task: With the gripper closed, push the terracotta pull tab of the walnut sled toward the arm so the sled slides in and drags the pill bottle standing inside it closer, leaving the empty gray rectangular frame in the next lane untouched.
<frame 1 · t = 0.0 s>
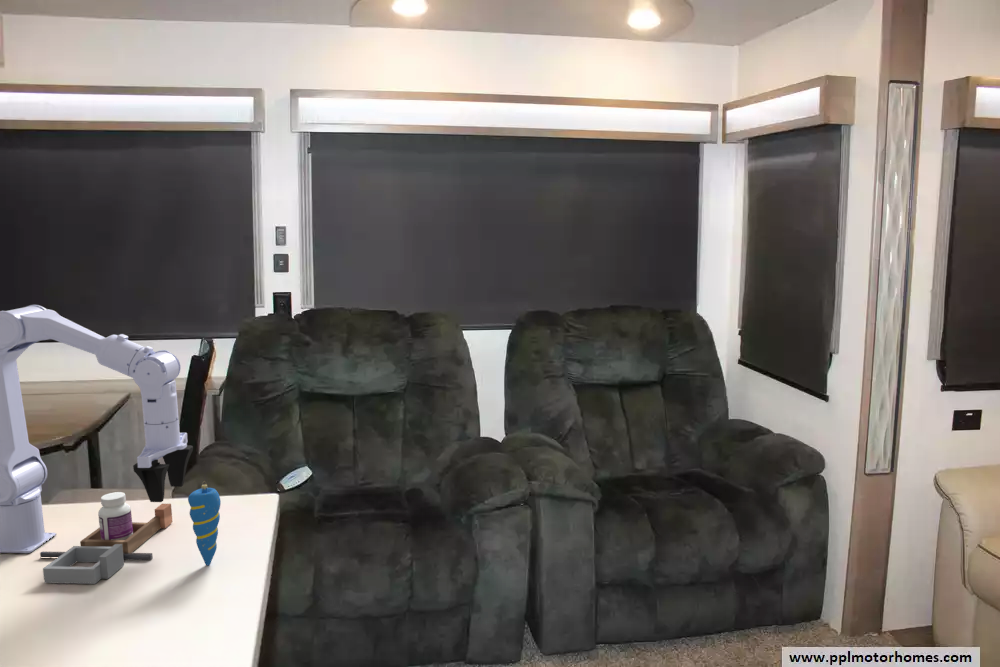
hand: (167, 493, 141), 10 cm above the table, tool pointing down, fingers open, 7 cm apart
gray rectangular frame: (87, 560, 132), point 2 cm above the table, slide at 0.0 cm
pill bottle: (118, 546, 143), resting in walnut sled
walnut sled: (128, 528, 146), point 2 cm above the table, slide at 0.0 cm
ornament: (209, 565, 135), on the table
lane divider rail: (96, 558, 138), on the table
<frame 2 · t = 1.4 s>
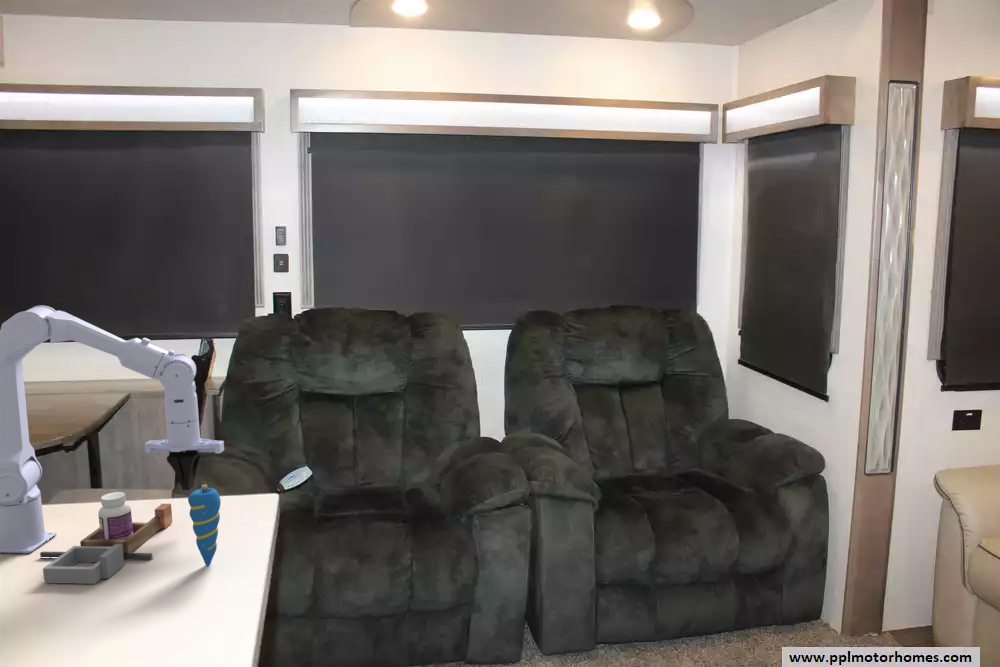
hand: (188, 488, 150), 8 cm above the table, tool pointing down, fingers closed
nothing on the table moved.
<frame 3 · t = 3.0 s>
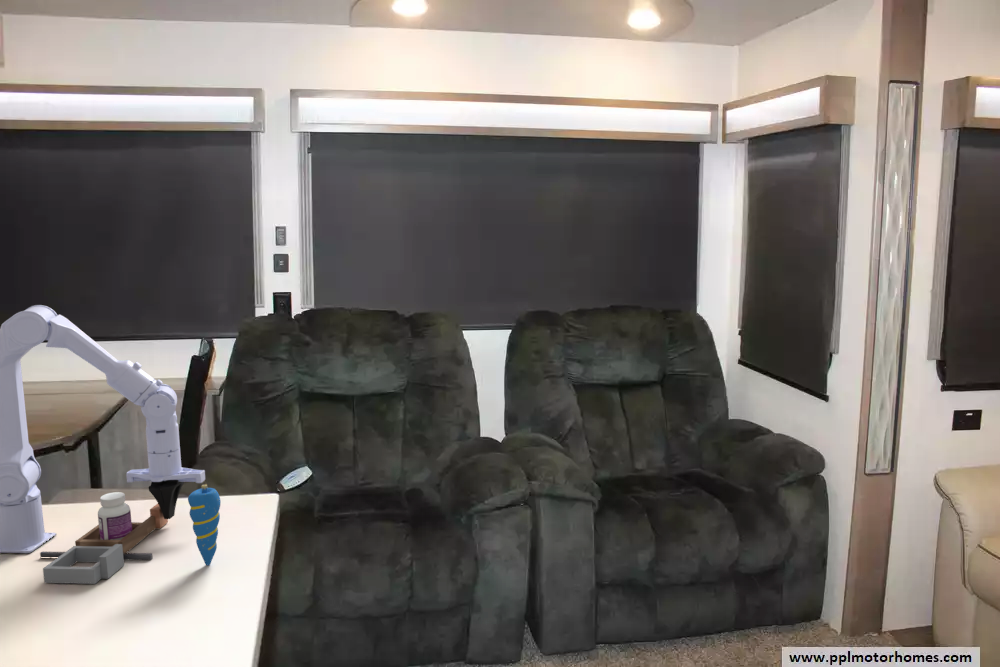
hand: (169, 517, 151), 2 cm above the table, tool pointing down, fingers closed
pill bottle: (117, 546, 143), resting in walnut sled
walnut sled: (123, 527, 146), point 2 cm above the table, slide at 0.9 cm, touching gripper, pill bottle
everything else where it was.
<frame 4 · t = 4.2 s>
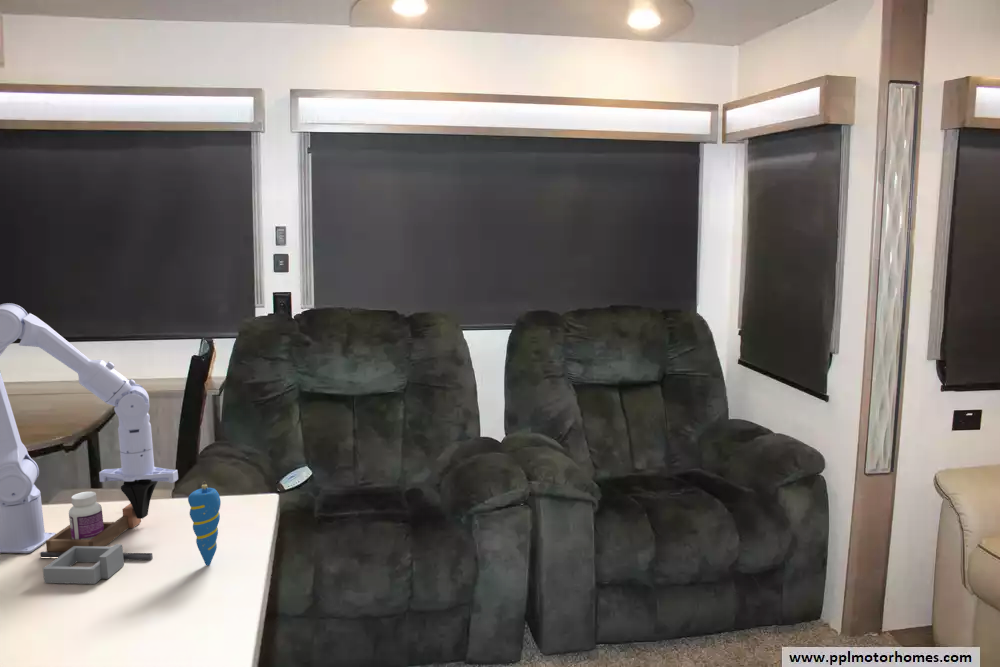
hand: (142, 516, 152), 2 cm above the table, tool pointing down, fingers closed
pill bottle: (89, 546, 143), resting in walnut sled
walnut sled: (95, 527, 146), point 2 cm above the table, slide at 6.3 cm, touching gripper, pill bottle
everything else where it was.
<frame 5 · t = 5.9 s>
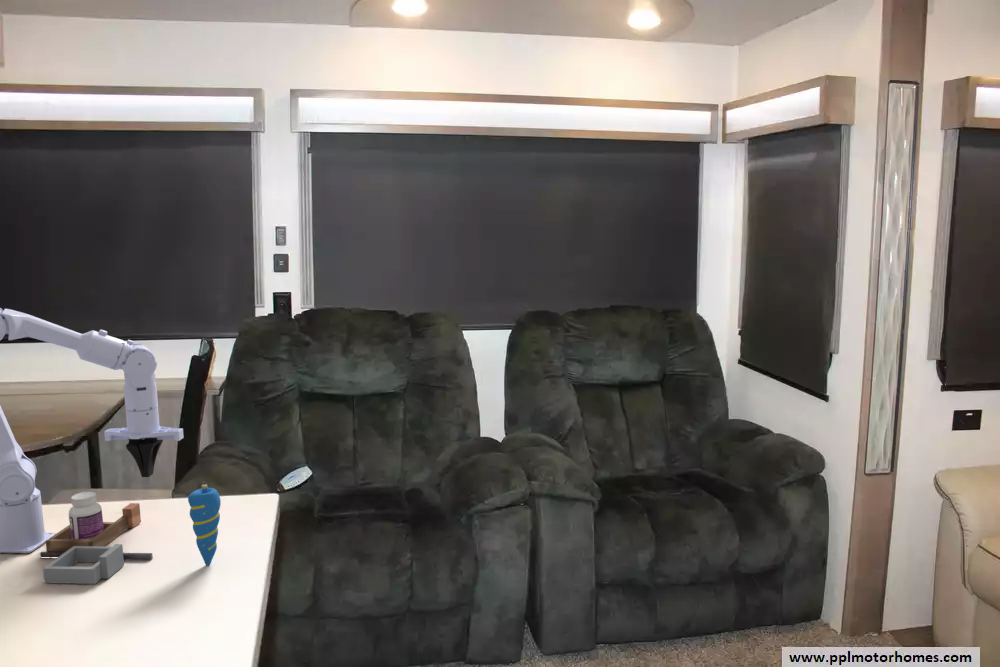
hand: (147, 475, 153), 9 cm above the table, tool pointing down, fingers closed
pill bottle: (88, 546, 143), resting in walnut sled
walnut sled: (95, 527, 146), point 2 cm above the table, slide at 6.3 cm
everything else where it was.
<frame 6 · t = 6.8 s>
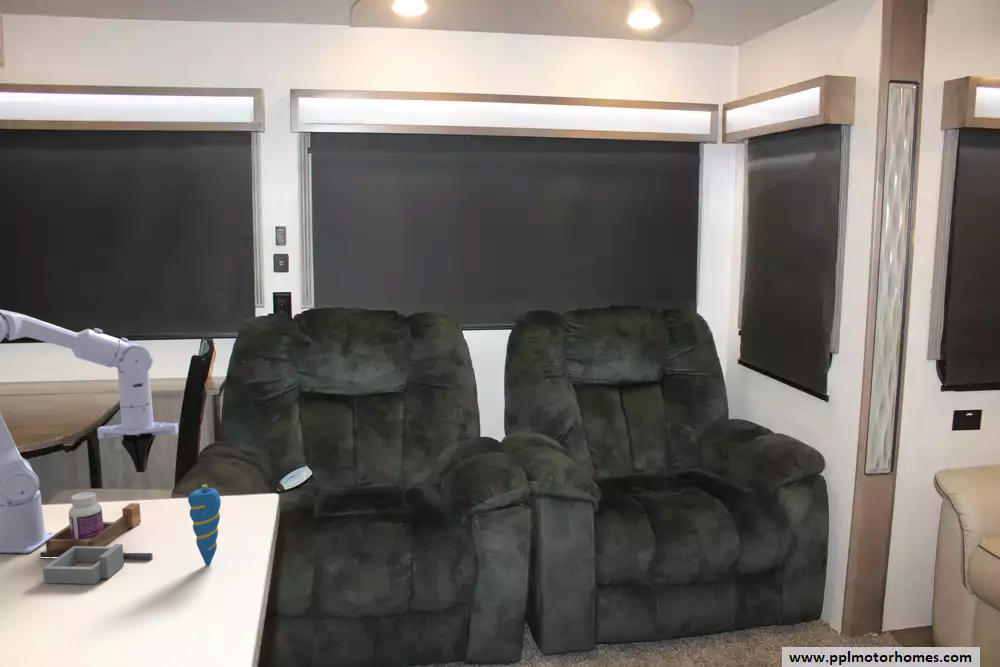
hand: (141, 470, 155), 9 cm above the table, tool pointing down, fingers closed
nothing on the table moved.
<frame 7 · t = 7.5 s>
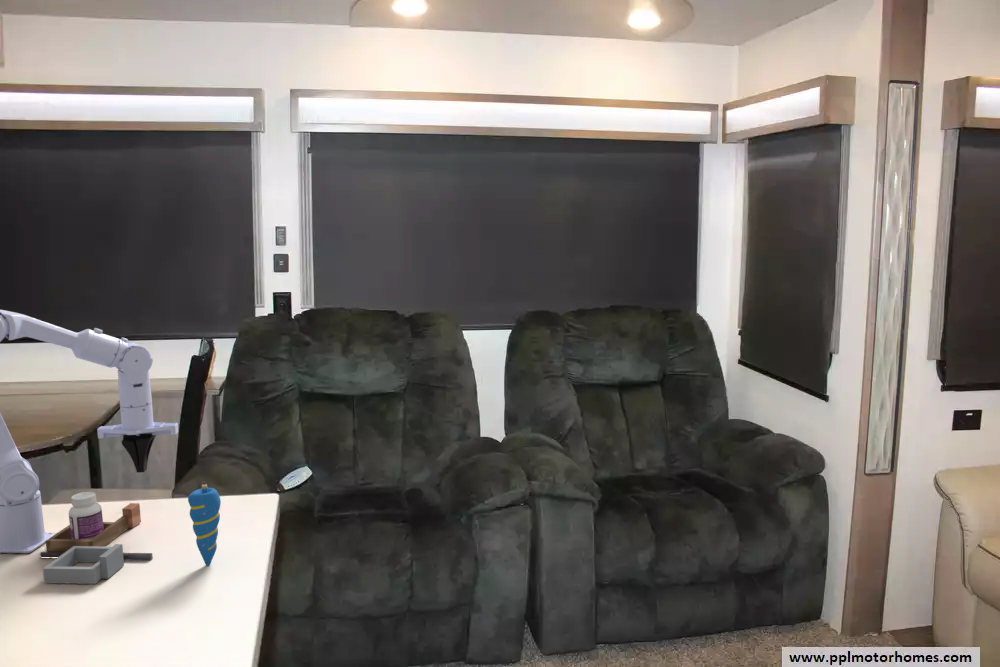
hand: (141, 470, 155), 9 cm above the table, tool pointing down, fingers closed
nothing on the table moved.
at the end: walnut sled slide at 6.3 cm; pill bottle 0.2 cm from the target spot, resting in walnut sled; pill bottle tilted 0° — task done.
